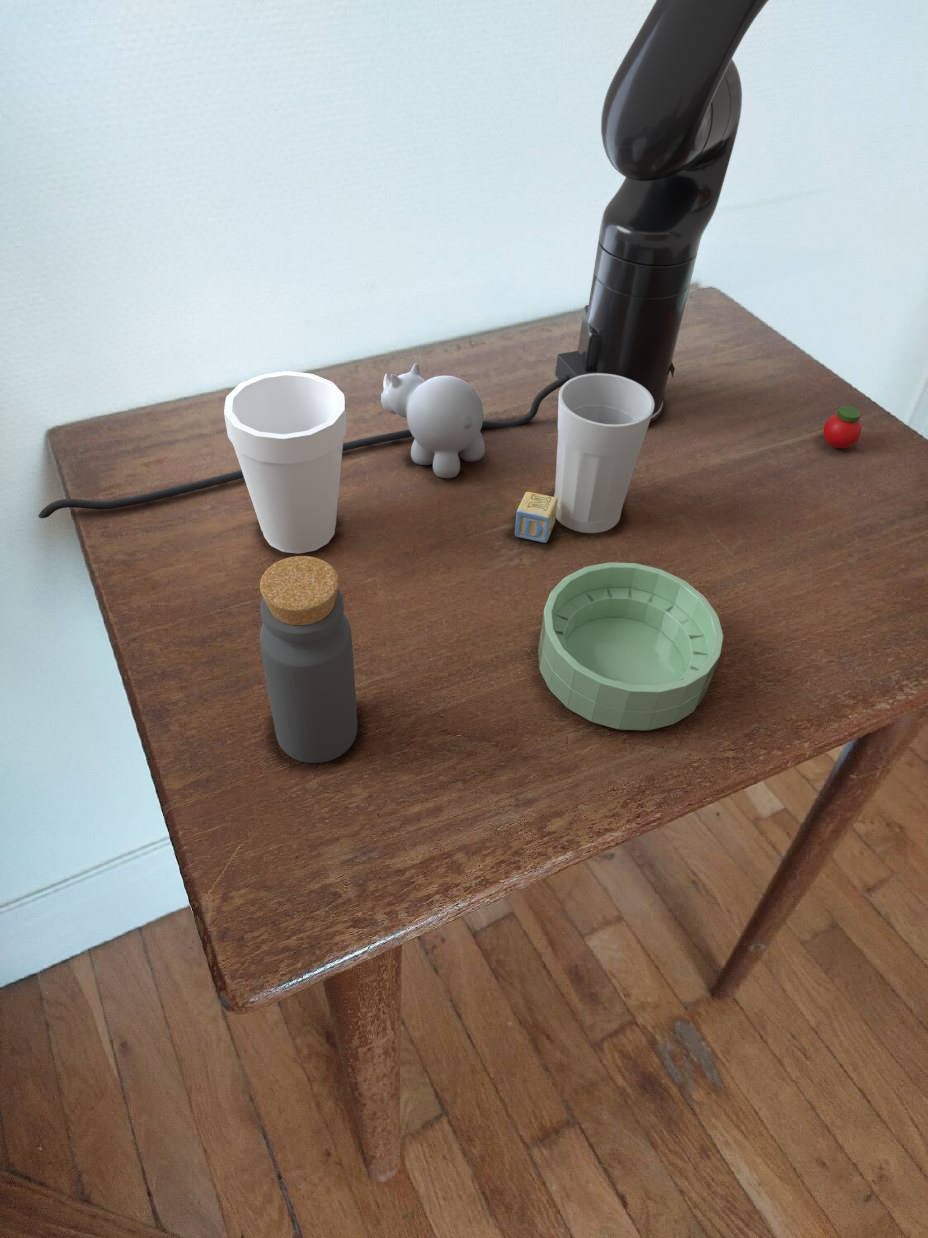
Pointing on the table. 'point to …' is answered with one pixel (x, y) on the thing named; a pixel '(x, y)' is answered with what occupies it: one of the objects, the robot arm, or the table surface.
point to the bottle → (308, 659)
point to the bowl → (628, 645)
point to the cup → (598, 448)
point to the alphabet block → (536, 517)
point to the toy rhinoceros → (437, 418)
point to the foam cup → (290, 454)
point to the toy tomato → (843, 427)
